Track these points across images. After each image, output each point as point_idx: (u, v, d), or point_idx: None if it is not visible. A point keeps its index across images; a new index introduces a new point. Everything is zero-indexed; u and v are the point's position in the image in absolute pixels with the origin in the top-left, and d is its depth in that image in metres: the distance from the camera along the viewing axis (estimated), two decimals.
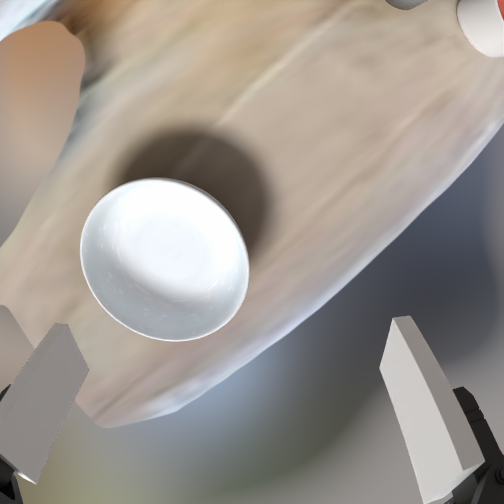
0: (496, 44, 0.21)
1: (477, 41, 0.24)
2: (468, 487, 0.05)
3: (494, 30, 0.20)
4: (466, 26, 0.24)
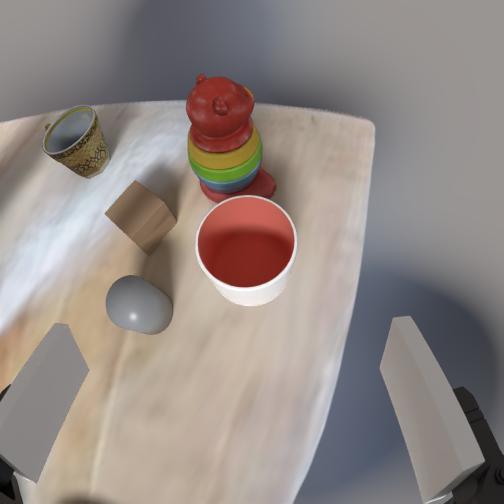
0: (249, 298, 0.32)
1: (243, 303, 0.35)
2: (468, 487, 0.05)
3: None
4: (224, 296, 0.36)
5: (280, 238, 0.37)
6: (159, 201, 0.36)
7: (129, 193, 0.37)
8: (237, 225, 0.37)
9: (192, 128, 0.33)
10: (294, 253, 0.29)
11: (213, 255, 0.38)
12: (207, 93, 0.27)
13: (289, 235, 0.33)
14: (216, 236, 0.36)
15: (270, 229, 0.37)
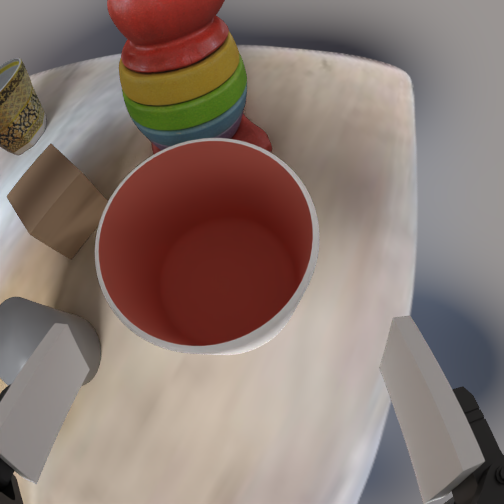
0: None
1: None
2: (468, 487, 0.05)
3: (173, 340, 0.14)
4: None
5: (279, 230, 0.20)
6: (74, 171, 0.19)
7: (39, 163, 0.20)
8: (200, 207, 0.20)
9: (125, 44, 0.16)
10: (313, 262, 0.12)
11: (159, 261, 0.21)
12: None
13: (298, 222, 0.16)
14: (160, 227, 0.19)
15: (261, 214, 0.20)
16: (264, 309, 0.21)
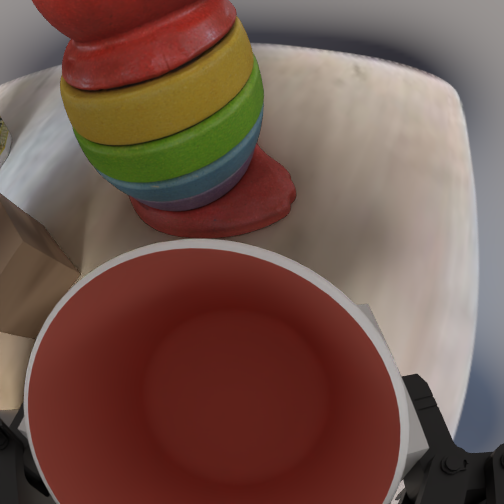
0: None
1: None
2: (415, 479, 0.05)
3: None
4: None
5: (312, 341, 0.13)
6: (15, 238, 0.12)
7: None
8: (194, 305, 0.13)
9: (69, 43, 0.09)
10: (390, 498, 0.05)
11: (139, 373, 0.14)
12: None
13: (357, 376, 0.08)
14: (133, 341, 0.12)
15: (286, 317, 0.13)
16: (285, 432, 0.14)
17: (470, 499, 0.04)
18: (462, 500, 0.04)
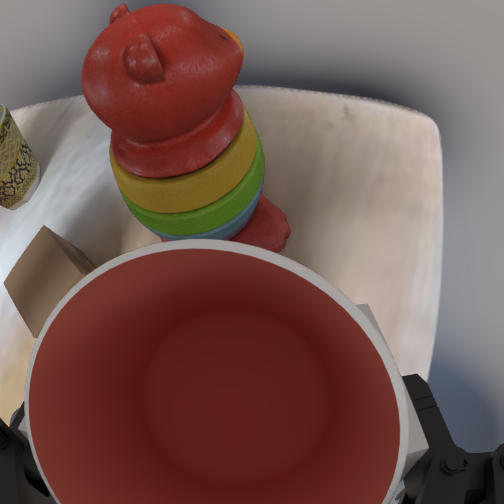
0: None
1: None
2: (415, 478, 0.05)
3: None
4: None
5: (312, 341, 0.13)
6: (73, 270, 0.18)
7: (33, 250, 0.19)
8: (194, 305, 0.13)
9: None
10: (390, 497, 0.05)
11: (140, 373, 0.14)
12: (116, 35, 0.08)
13: (357, 376, 0.08)
14: (133, 341, 0.12)
15: (286, 317, 0.13)
16: (285, 432, 0.14)
17: (470, 499, 0.04)
18: (462, 500, 0.04)
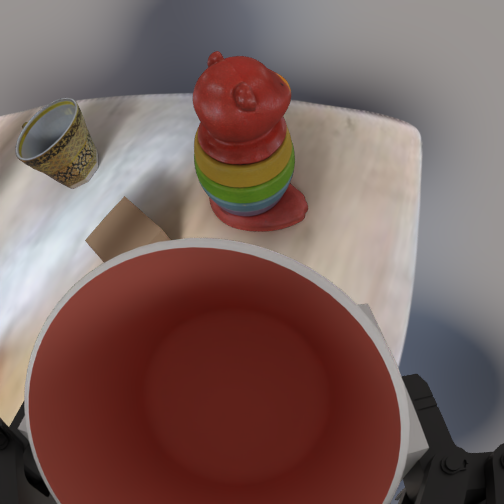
0: None
1: None
2: (415, 478, 0.05)
3: None
4: None
5: (313, 341, 0.13)
6: (155, 227, 0.27)
7: (116, 214, 0.28)
8: (194, 305, 0.13)
9: (201, 128, 0.24)
10: (391, 497, 0.05)
11: (140, 373, 0.14)
12: (225, 78, 0.18)
13: (357, 376, 0.08)
14: (134, 340, 0.12)
15: (286, 317, 0.13)
16: (285, 431, 0.14)
17: (470, 499, 0.04)
18: (462, 500, 0.04)
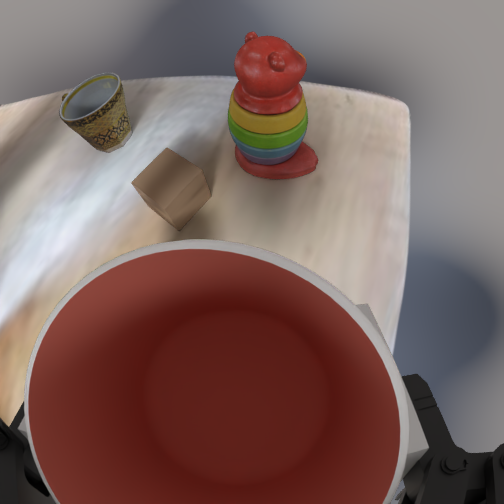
0: None
1: None
2: (415, 478, 0.05)
3: None
4: None
5: (313, 341, 0.13)
6: (196, 169, 0.33)
7: (160, 161, 0.34)
8: (194, 306, 0.13)
9: (237, 89, 0.29)
10: (390, 498, 0.05)
11: (139, 374, 0.14)
12: (261, 48, 0.23)
13: (357, 377, 0.08)
14: (133, 341, 0.12)
15: (286, 318, 0.13)
16: (285, 432, 0.14)
17: (470, 499, 0.04)
18: (462, 500, 0.04)
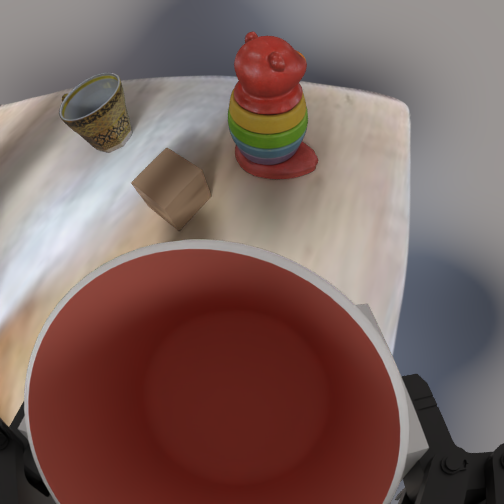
0: None
1: None
2: (415, 478, 0.05)
3: None
4: None
5: (313, 341, 0.13)
6: (196, 169, 0.33)
7: (160, 161, 0.34)
8: (194, 306, 0.13)
9: (237, 89, 0.29)
10: (390, 498, 0.05)
11: (140, 374, 0.14)
12: (261, 48, 0.23)
13: (357, 377, 0.08)
14: (133, 341, 0.12)
15: (286, 318, 0.13)
16: (285, 432, 0.14)
17: (470, 499, 0.04)
18: (462, 500, 0.04)
